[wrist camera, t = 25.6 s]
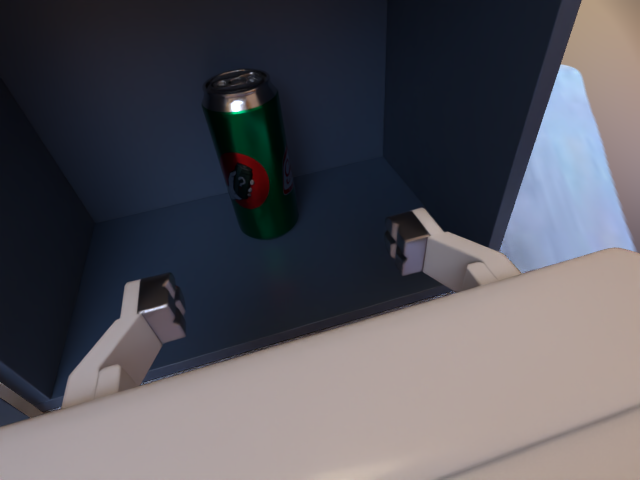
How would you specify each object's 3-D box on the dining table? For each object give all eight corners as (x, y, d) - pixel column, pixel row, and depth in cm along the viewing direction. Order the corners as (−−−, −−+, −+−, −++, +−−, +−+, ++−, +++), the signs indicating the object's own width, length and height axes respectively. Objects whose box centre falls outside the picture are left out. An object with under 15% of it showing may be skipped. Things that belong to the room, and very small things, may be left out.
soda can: (307, 233, 31) (285, 84, 23) (247, 251, 30) (200, 103, 22) (289, 199, 34) (265, 60, 26) (235, 215, 33) (192, 76, 25)
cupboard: (489, 280, 27) (675, -282, 11) (42, 412, 23) (-801, -186, 6) (388, 158, 40) (401, -179, 24) (91, 227, 36) (-145, -125, 19)
